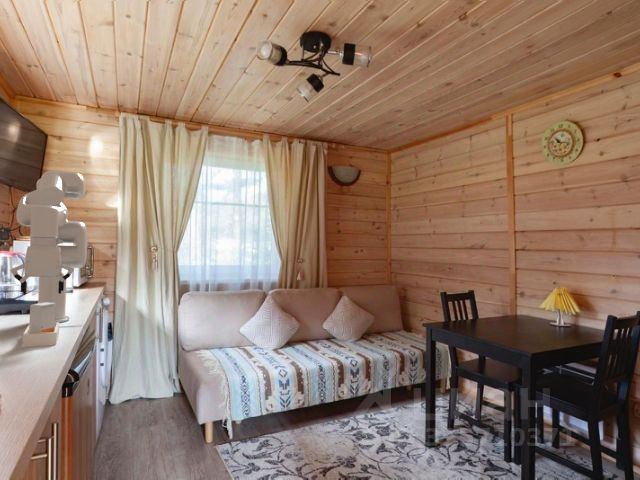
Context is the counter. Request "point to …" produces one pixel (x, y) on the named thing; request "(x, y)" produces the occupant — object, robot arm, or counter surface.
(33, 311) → the skincare box
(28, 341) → the cream rectangular tray
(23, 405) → the counter surface
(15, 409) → the counter surface
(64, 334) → the counter surface
